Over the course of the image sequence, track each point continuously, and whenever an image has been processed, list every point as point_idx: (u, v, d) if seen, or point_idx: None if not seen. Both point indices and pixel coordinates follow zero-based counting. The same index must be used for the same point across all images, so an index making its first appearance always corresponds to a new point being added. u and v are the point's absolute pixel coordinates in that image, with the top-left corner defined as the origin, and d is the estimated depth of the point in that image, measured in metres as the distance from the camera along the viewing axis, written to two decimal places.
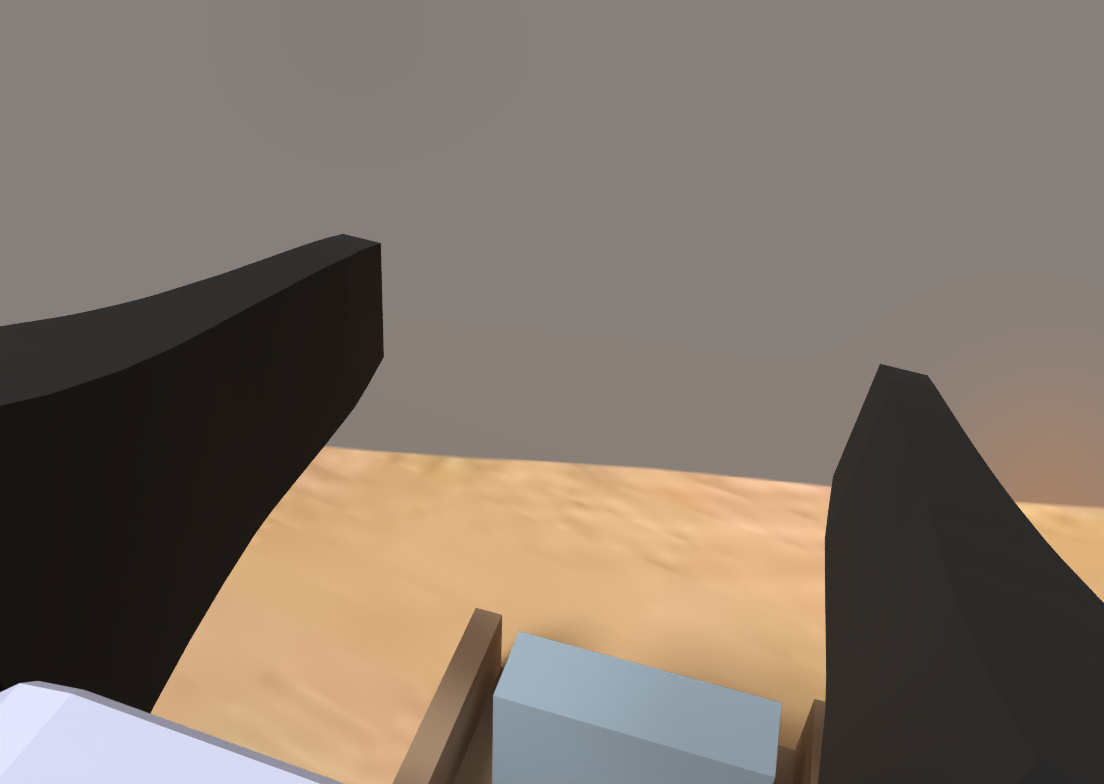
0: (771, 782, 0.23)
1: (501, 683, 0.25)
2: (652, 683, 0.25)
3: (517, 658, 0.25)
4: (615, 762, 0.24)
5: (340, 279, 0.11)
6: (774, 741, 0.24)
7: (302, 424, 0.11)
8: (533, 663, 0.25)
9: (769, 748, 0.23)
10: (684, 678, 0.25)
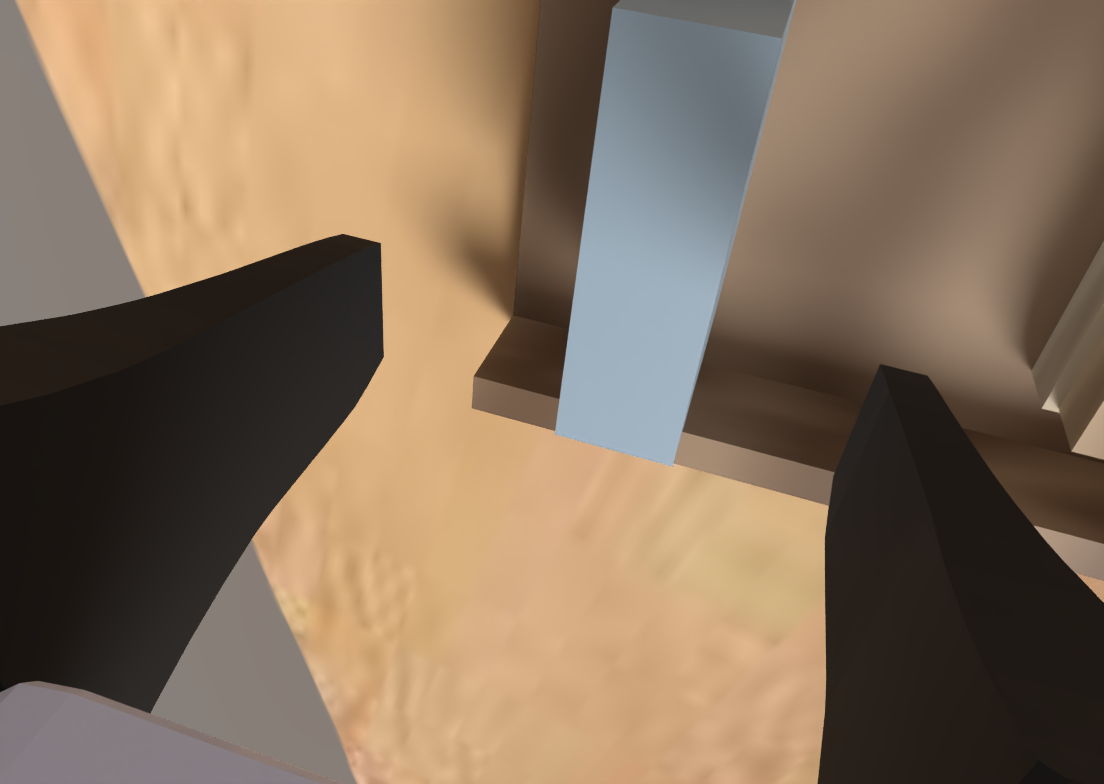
0: (782, 36, 0.12)
1: (649, 456, 0.17)
2: (612, 248, 0.14)
3: (603, 437, 0.17)
4: (725, 263, 0.15)
5: (341, 279, 0.11)
6: (702, 30, 0.12)
7: (302, 425, 0.11)
8: (607, 417, 0.16)
9: (719, 43, 0.12)
10: (588, 190, 0.14)
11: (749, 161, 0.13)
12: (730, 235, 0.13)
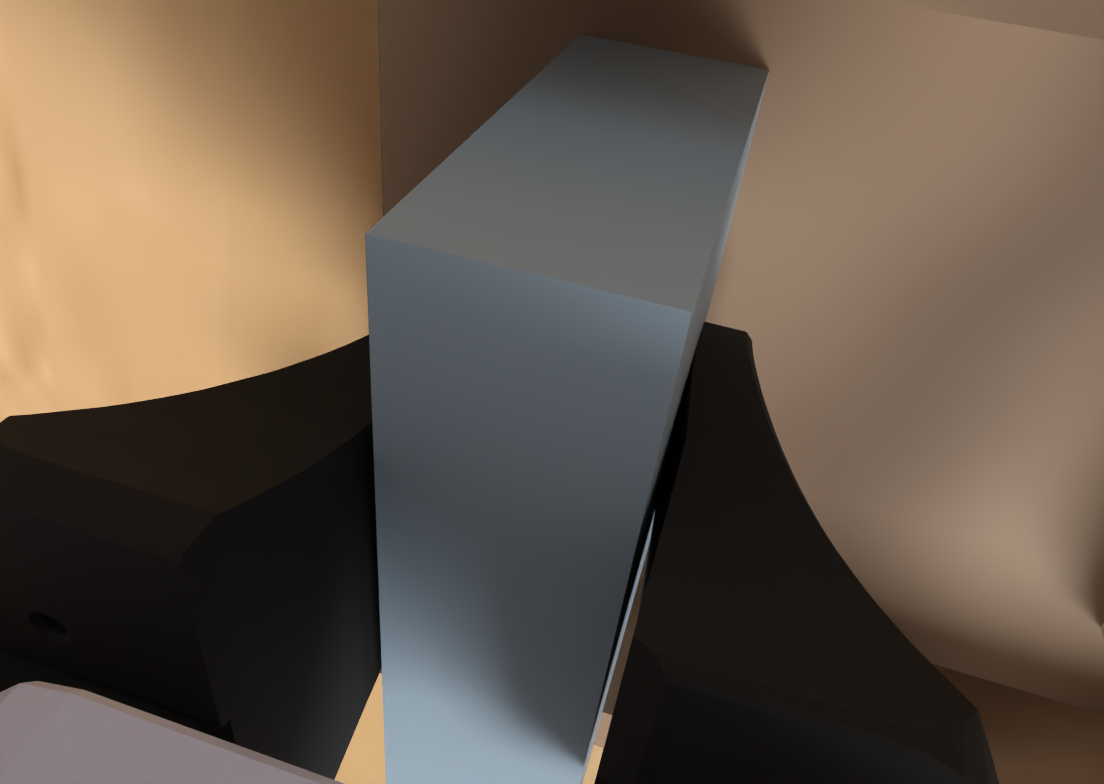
0: (695, 297, 0.06)
1: None
2: (429, 586, 0.08)
3: None
4: (636, 567, 0.09)
5: None
6: (537, 285, 0.06)
7: None
8: (459, 783, 0.10)
9: (572, 310, 0.06)
10: (380, 501, 0.08)
11: (646, 496, 0.07)
12: (621, 596, 0.08)
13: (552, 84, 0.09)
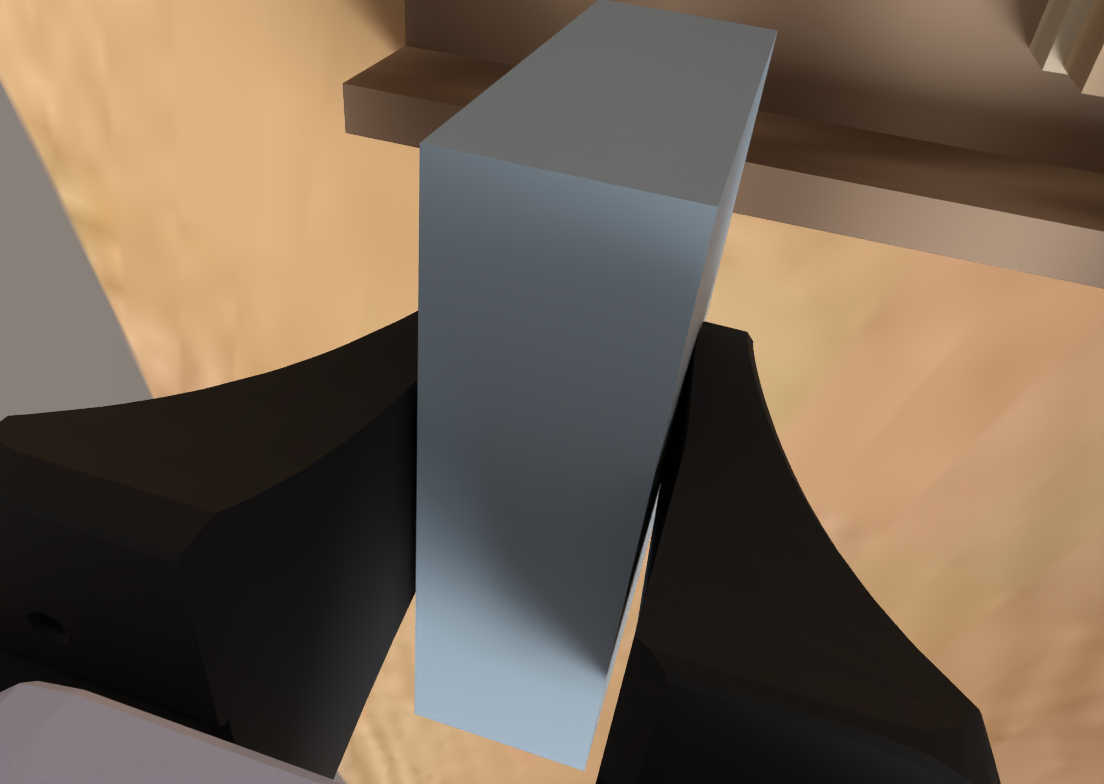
0: (720, 198, 0.07)
1: (551, 755, 0.11)
2: (465, 496, 0.09)
3: (483, 726, 0.11)
4: (654, 491, 0.10)
5: None
6: (577, 187, 0.07)
7: None
8: (486, 703, 0.11)
9: (608, 210, 0.07)
10: (421, 413, 0.09)
11: (672, 393, 0.07)
12: (647, 496, 0.08)
13: (577, 36, 0.10)
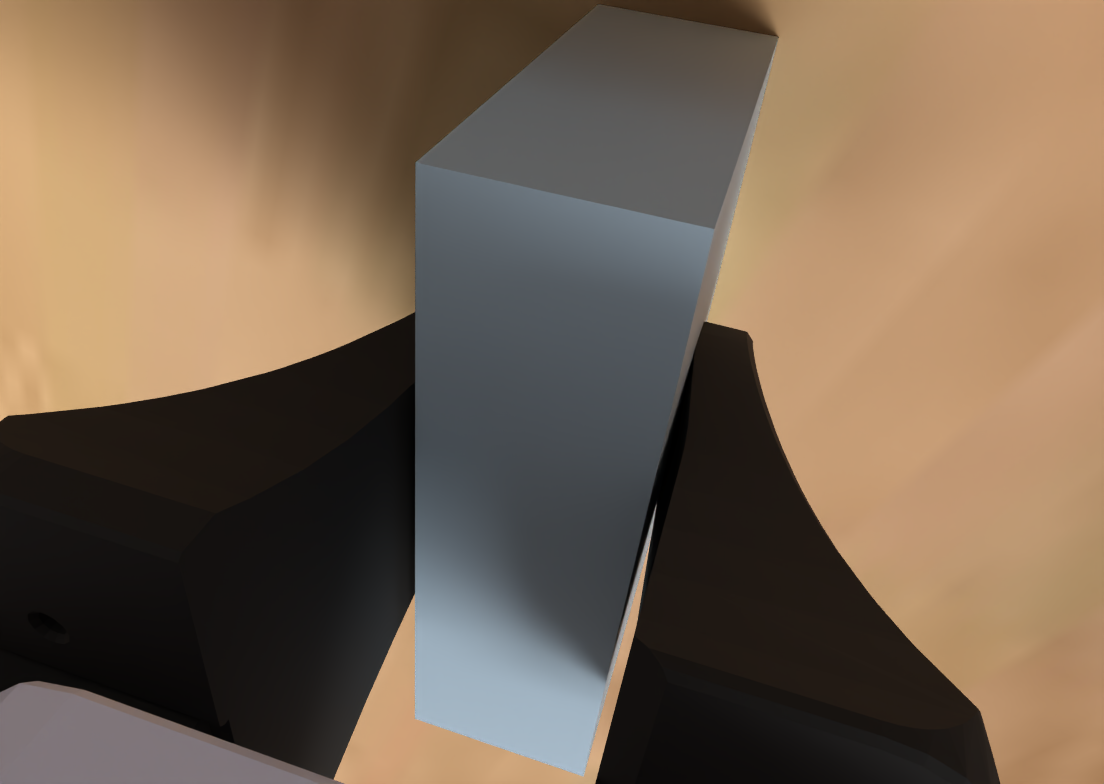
0: (717, 219, 0.07)
1: (549, 762, 0.11)
2: (463, 509, 0.09)
3: (482, 731, 0.11)
4: (654, 501, 0.10)
5: None
6: (573, 208, 0.07)
7: None
8: (485, 709, 0.11)
9: (604, 231, 0.07)
10: (419, 427, 0.09)
11: (669, 411, 0.07)
12: (645, 511, 0.08)
13: (576, 44, 0.10)
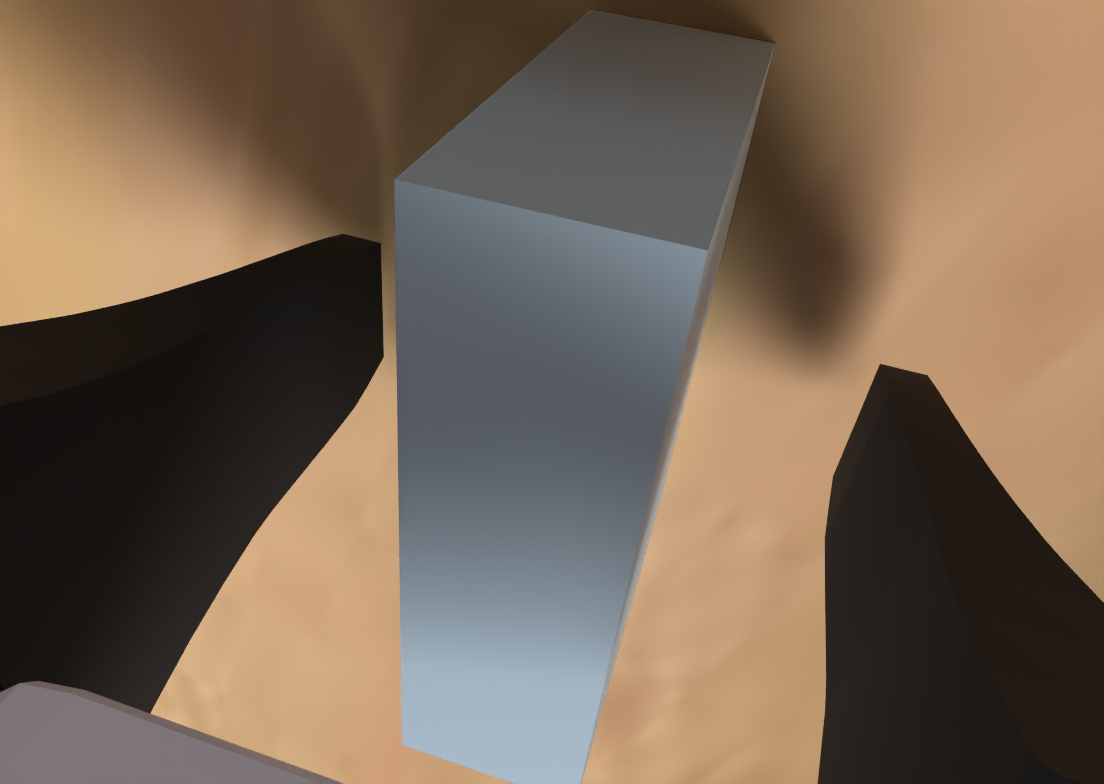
0: (711, 239, 0.06)
1: None
2: (448, 534, 0.09)
3: (471, 758, 0.11)
4: (646, 523, 0.10)
5: (340, 279, 0.11)
6: (559, 228, 0.06)
7: (302, 424, 0.11)
8: (474, 736, 0.11)
9: (592, 251, 0.06)
10: (403, 450, 0.08)
11: (661, 437, 0.07)
12: (636, 539, 0.08)
13: (566, 52, 0.09)
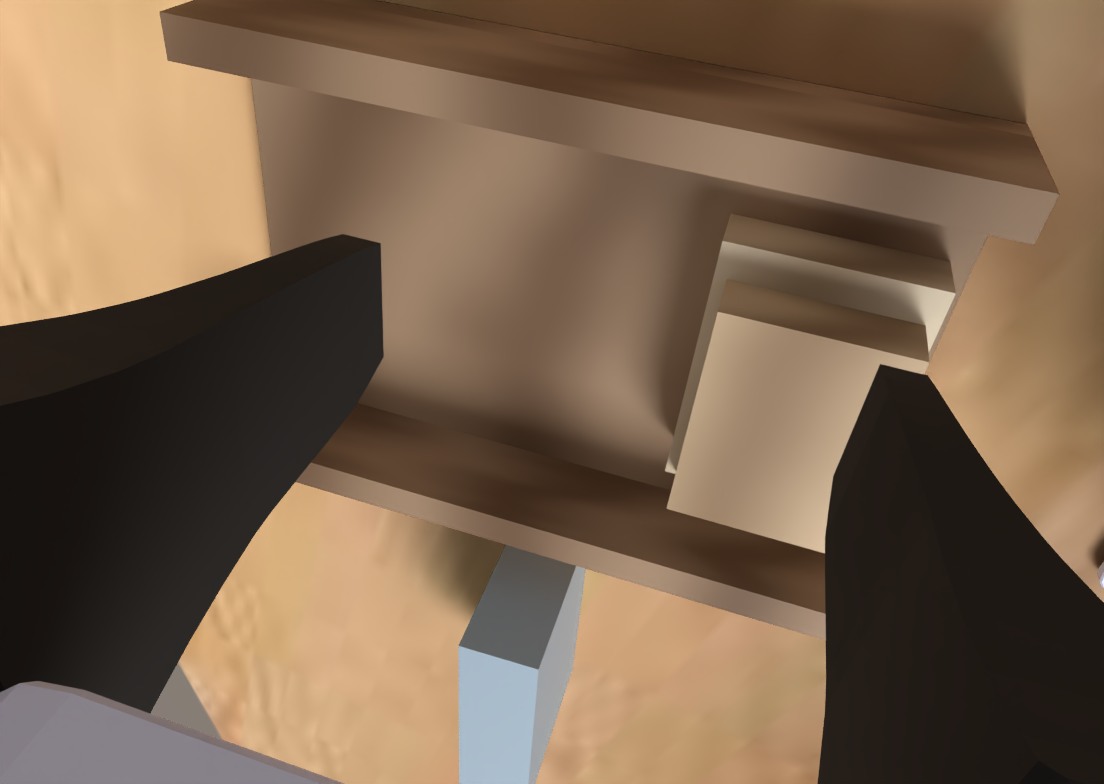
0: (541, 662, 0.24)
1: None
2: (475, 723, 0.26)
3: None
4: (544, 710, 0.28)
5: (341, 279, 0.11)
6: (502, 660, 0.24)
7: (302, 425, 0.11)
8: None
9: (510, 666, 0.24)
10: (460, 700, 0.26)
11: (535, 704, 0.25)
12: (532, 729, 0.26)
13: (510, 550, 0.27)
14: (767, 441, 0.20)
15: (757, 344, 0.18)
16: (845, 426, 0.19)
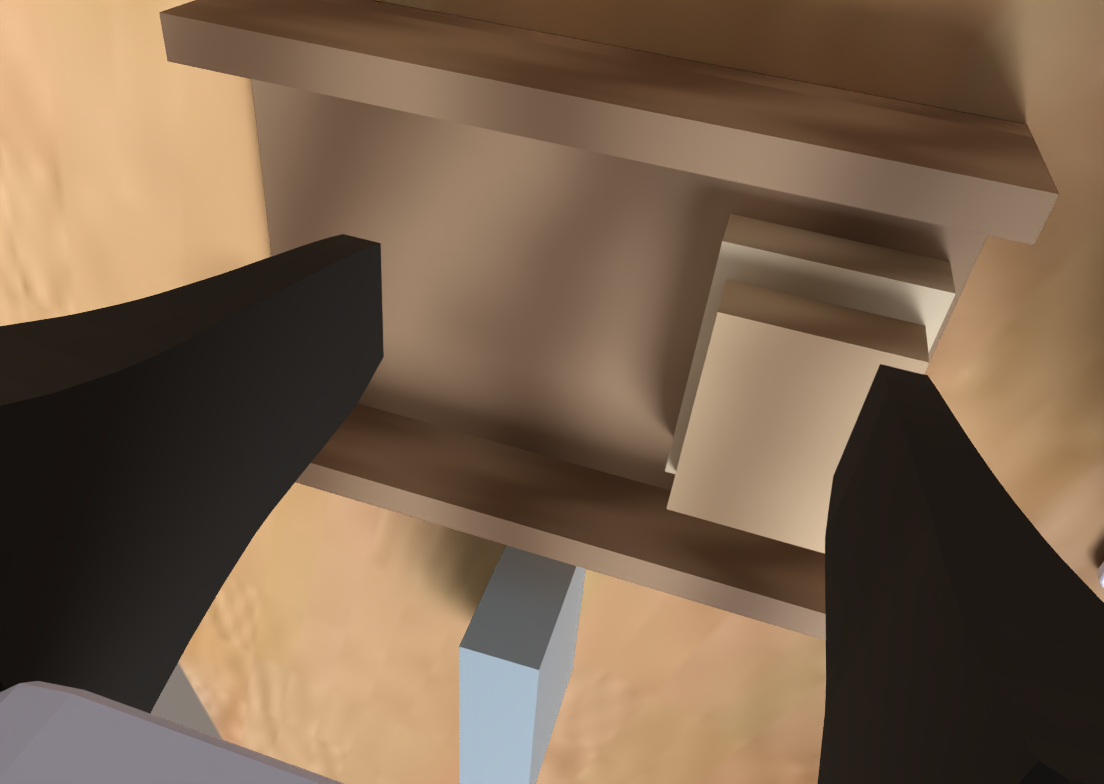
0: (541, 662, 0.24)
1: None
2: (475, 724, 0.26)
3: None
4: (545, 710, 0.28)
5: (341, 279, 0.11)
6: (502, 660, 0.24)
7: (302, 424, 0.11)
8: None
9: (511, 666, 0.24)
10: (460, 700, 0.26)
11: (535, 705, 0.25)
12: (533, 729, 0.26)
13: (510, 551, 0.27)
14: (767, 441, 0.20)
15: (757, 344, 0.18)
16: (845, 426, 0.19)
